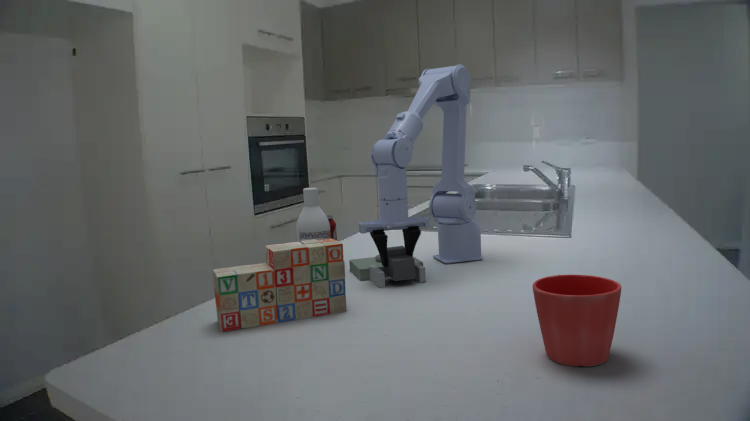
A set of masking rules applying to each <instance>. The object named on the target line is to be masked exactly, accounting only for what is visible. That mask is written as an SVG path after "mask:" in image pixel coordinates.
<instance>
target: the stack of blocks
mask: <svg viewBox="0 0 750 421" xmlns="http://www.w3.org/2000/svg"><path fill="white" fill-rule="evenodd" d="M343 245H344V244H343V242H341V241H339V240H338V239H337V240H334V239H322V240H316V239H313V240H304V241H300V242H297V241H293V242H285V243H277V244H269V245H267V244H266V245H265V246H264V253H265V254H264V256H265V262H263V263H262V262H261V263H254V264H253V263H252V264H247V265H246V264H244V265H243V264H242V265H238V266H237V265H236V266H230V267H229V266H228V267H221V268H213V269H212V273H213V274H212V275H213V286H214V287H213V288H214V298H215V309H216V318H217V320H216V321H217V323H218V325H219V328H220V330H221V332H222V333H223V332H228V331H234V330H240V329H249V328H255V327H260V326H266V325H267V326H268V325H274V324H279V323H283V322H289V321H294V320H302V319H306V318H308V319H309V318H313V317H320V316H326V315H332V314H333V315H334V314H338V313H345V312H347V311H348V308H347V295H346V265H345V260H344V246H343ZM273 323H274V324H273Z"/></svg>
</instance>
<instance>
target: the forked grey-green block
mask: <svg viewBox="0 0 750 421" xmlns="http://www.w3.org/2000/svg"><path fill="white" fill-rule="evenodd" d="M412 258H414V261H415V278H413V279H414V280H415V281H417V282H418V283H420V284H421V283H426V282H427V281H426V280H427V278H426V276H427V275H426V266H424V262H423V261H422V260H420V259H419V258H417V257H415V256H414V255H413V257H412ZM348 262H349V271H350V272H351V274H353V275H354V276H355V277H356V278H357V279H358V280H359V281H361V282H362V281H368V280H369V281H370V282H372V283H373V284H375V286H377V287H378V288H379V289H380V288H386V281H385V278H386V277H387V278H390V277H389V276H387V275H386V274H385V273H384V272H383V266H382V262H381V258H380V255H379V254H377V255H375V256H373V257H370V256H369V257H365V258H361V257H360V258H355V259H354V258H353V259H349V261H348Z"/></svg>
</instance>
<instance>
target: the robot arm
mask: <svg viewBox="0 0 750 421" xmlns="http://www.w3.org/2000/svg"><path fill="white" fill-rule="evenodd" d="M471 80H472V79H471V76H470V74H469V72H468V70H467V68H466V67H465V66H464V65H463V64H456V65H451V66H444V67H437V68H425V69H424V70H423V71H422V73H421V74H420V77H419V78H418V90H417V92H416V93H415V95H414V98H413V99H412V100H411V103H410V106H409V108H408V110H406V111H402V112H400V113H397V115H396V117H395V121H394V122H393V124H391V126H390V128H389V129H388V131H387V132H386V134H385V136H384V138H382V139H380V140H379V139H378V140H377V142H375V143H374V144H373V147H372V149H371V153H370V155H369V156H370V160H371V162H372V164H373V166H374V170H375V175H376V177H377V183H378V199H379V214H380V215H379V219H377V220H372V221H364V222H358V231H359V233H360V234H362V235H363V234H367V233H369V234H370V236H371V239H372V240H373V242H374V244H375V248H377V251H378V255H380V258H381V262H382V266H384V267H388V257H387V248H388V238H389V236H388V235H387V234H386V232H387V231H395V230H397V231H398V230H401V231H402V237H403V243H404V245H403V246H404V247H405V248H406V254H408V255H409V256H411V257H413V256H414V251H415V248H416V245H417V243H418V241H419V238H420V236H421V235H422V230H421V229H420V228H430V227H431V220H430V219H431V218H430V216H429V217H428V216H417V217H416V216H413V217H412V216H411V217H409V203H408V202H409V198H408V197H409V196H408V178H407V167H408V166H409V164H410V163H411V162H412V158H413V150H414V146H415V145H414V144H415V142H416V140H417V139H418V137H419V136H420V134H421V132H422V131H423V128H424V123H423V119H424V117H425V116H426V114H427V113H428V112H429V110H430V109H431V108H432V106H433V105H435V106H436V107H439V108H440V109H441V110H442V111H443V121H442V122H443V124H442V125H443V126H442V146H441V147H442V150H441V151H442V152H441V153H442V154H441V179H440V180H439V181H438V182H437V183H436V184H435V185H434V186H433V187H432V190H431V197H430V200H429V202H428V203H429V204H428V209H429V213H430V215H431V217H432V218H433V219H434V222H435V223H437V236H438V237H437V239H438V242H437V244H438V254H433V255H432V258H434V259H435V260H437V261H439V262H442V263H443V264H445V265H446V264H453V263H455V264H456V263H463V262H471V261H479V260H483V256H482V240H481V238H482V237H481V236H482V235H481V234H482V232H481V227H480V225H479V223H478V221H477V220H473V218H474V217H475V215H476V212H477V200H476V195H475V194H476V193H475V191H476V190H475V188H474V187H473V186H472V185H471V184H470V183H469V182H467V181H466V180H465V168H466V167H465V165H466V164H465V161H466V140H467V115H468V114H467V110H468V104H470V102H471V84H472V83H471ZM448 192H457V193H448ZM385 231H386V232H385Z"/></svg>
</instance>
